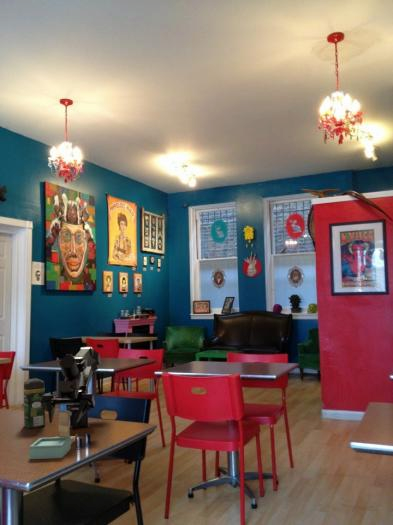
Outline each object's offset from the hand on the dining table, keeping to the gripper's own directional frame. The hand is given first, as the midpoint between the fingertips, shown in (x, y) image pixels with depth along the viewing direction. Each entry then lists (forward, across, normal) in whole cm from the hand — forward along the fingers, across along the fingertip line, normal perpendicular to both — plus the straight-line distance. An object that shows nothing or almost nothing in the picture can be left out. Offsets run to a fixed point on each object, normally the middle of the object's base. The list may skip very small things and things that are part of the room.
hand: (63, 422), depth 169 cm
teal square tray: (+15, 0, -5) cm, 16 cm away
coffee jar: (-14, -19, +24) cm, 34 cm away
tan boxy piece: (+5, 0, +4) cm, 7 cm away
